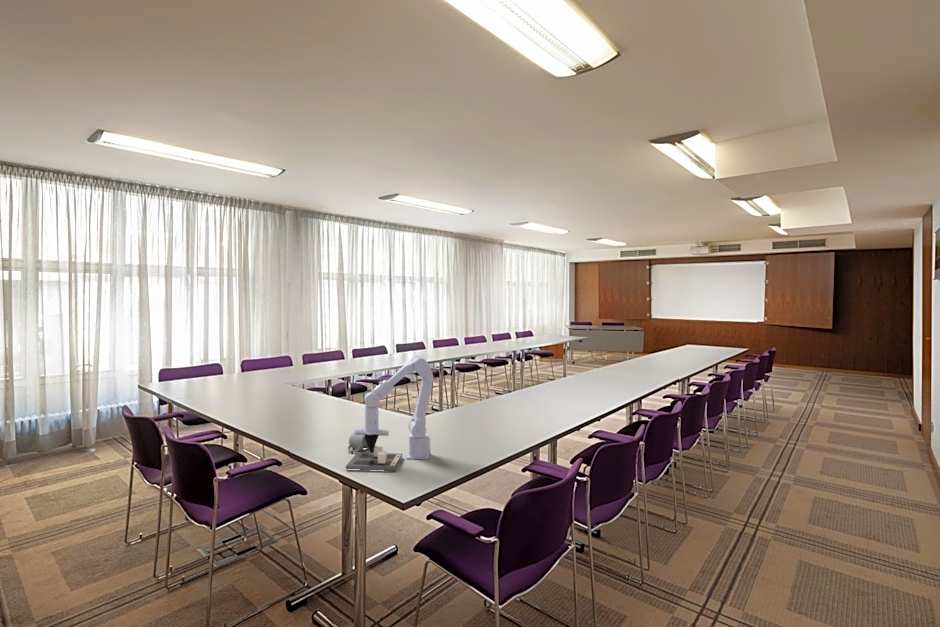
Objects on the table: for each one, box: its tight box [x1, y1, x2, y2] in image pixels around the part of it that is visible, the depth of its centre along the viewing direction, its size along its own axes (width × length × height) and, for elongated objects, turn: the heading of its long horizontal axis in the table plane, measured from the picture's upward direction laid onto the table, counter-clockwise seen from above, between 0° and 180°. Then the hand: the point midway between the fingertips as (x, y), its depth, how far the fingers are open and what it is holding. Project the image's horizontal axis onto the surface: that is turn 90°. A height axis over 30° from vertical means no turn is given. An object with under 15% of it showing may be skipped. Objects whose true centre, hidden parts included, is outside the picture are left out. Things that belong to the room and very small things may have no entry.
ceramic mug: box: [347, 432, 369, 453], centre depth 215 cm, size 11×8×8 cm
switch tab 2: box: [378, 451, 388, 463], centre depth 192 cm, size 3×3×4 cm
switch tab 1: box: [373, 444, 384, 457], centre depth 200 cm, size 3×3×4 cm
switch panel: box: [345, 452, 403, 472], centre depth 196 cm, size 20×16×2 cm
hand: (371, 451), depth 201 cm, fingers closed
